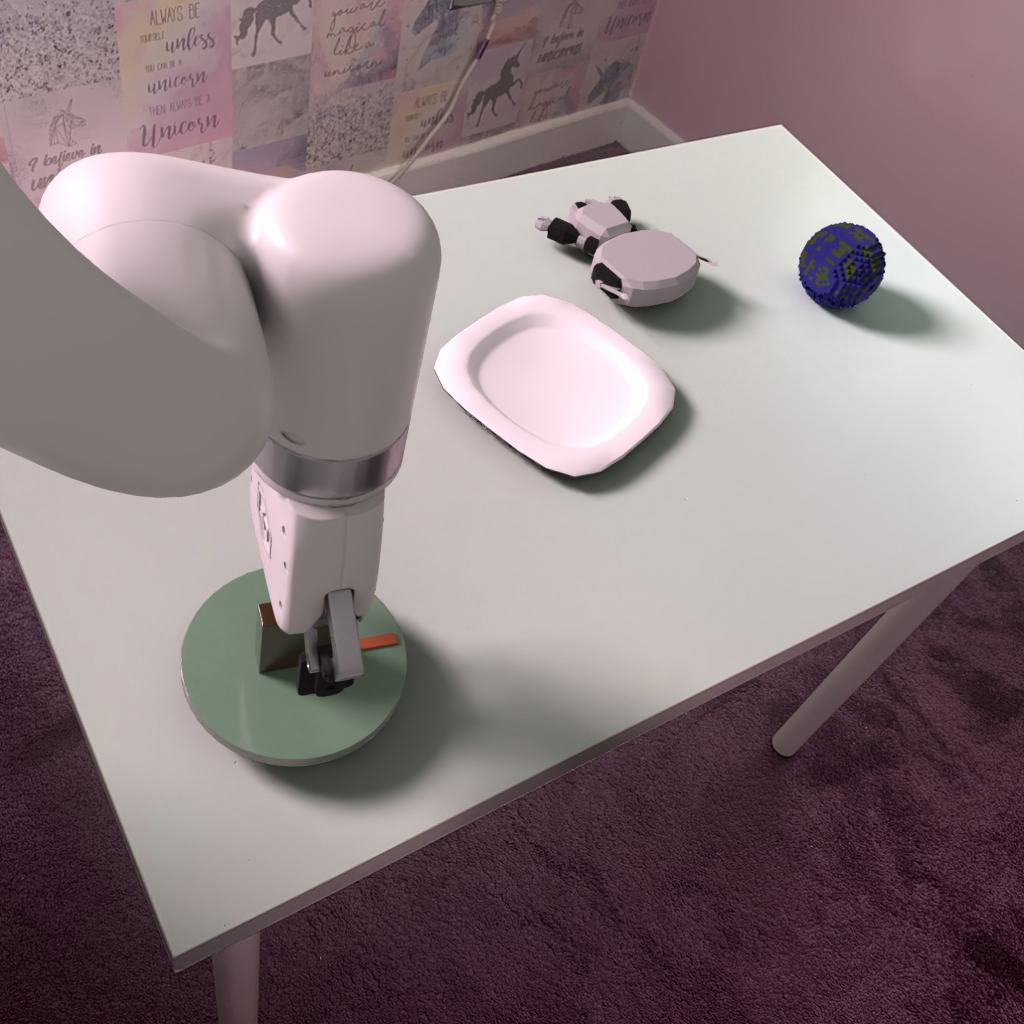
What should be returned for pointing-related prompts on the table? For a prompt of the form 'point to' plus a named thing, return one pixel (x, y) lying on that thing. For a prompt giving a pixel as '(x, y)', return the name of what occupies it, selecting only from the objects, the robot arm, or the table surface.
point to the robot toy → (626, 253)
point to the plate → (556, 384)
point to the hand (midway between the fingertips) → (306, 615)
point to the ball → (842, 265)
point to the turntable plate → (283, 680)
